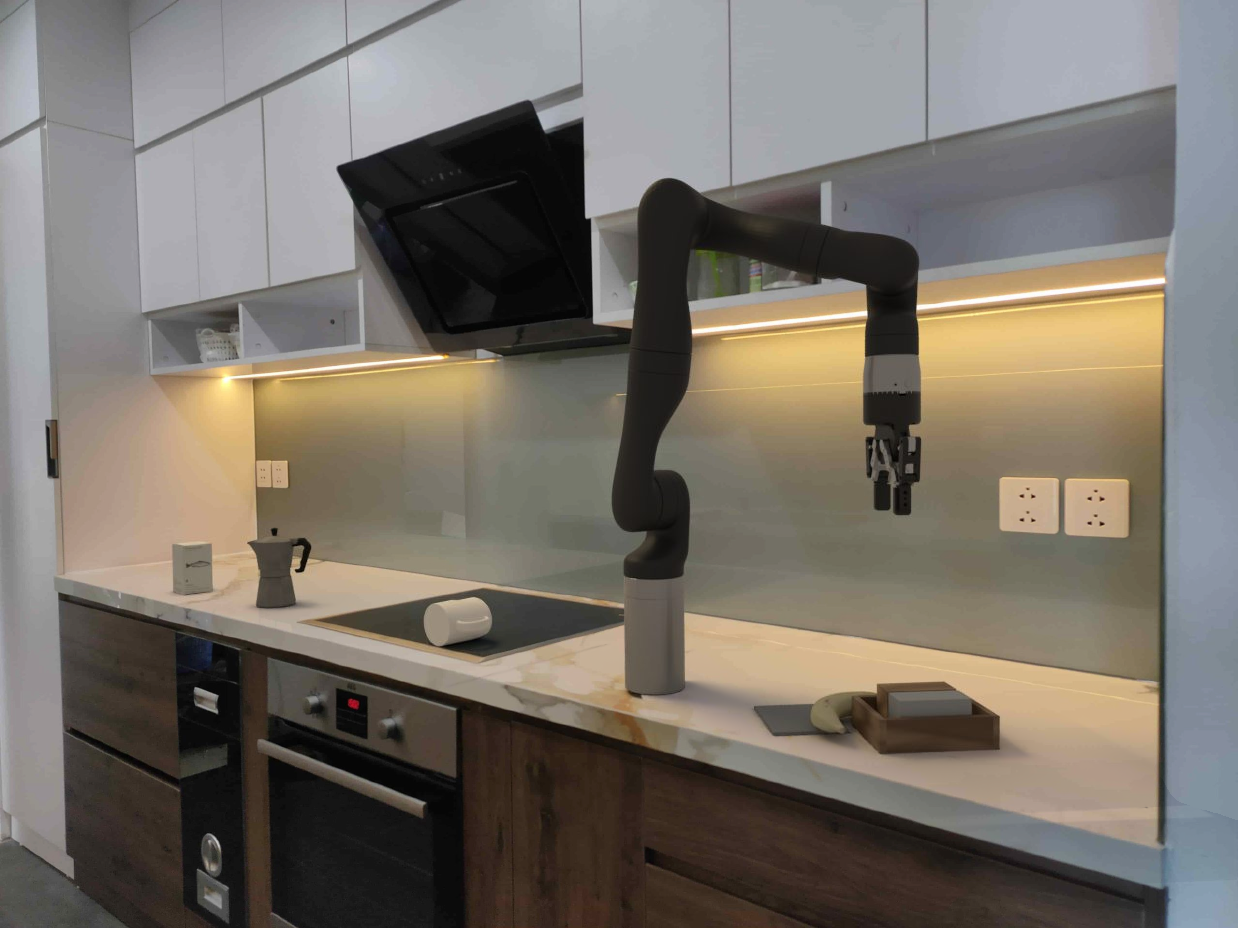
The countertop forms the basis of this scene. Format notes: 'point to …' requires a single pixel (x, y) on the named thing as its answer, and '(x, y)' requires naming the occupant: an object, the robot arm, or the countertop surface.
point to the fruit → (834, 710)
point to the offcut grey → (929, 704)
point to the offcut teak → (888, 688)
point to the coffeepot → (277, 568)
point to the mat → (790, 719)
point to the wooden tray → (925, 729)
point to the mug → (457, 621)
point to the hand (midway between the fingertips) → (891, 512)
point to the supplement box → (192, 567)
